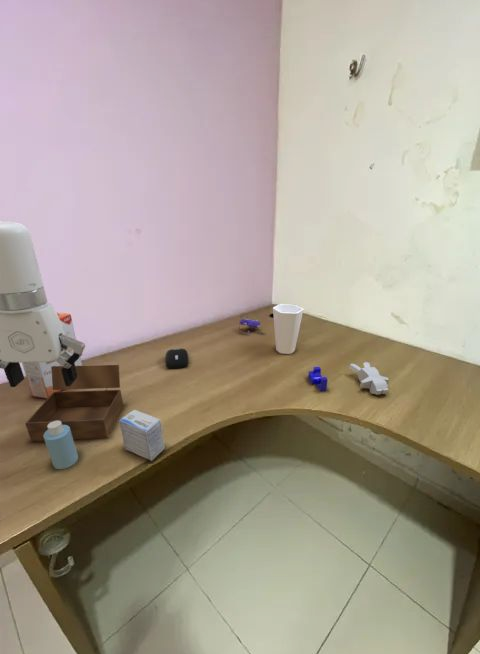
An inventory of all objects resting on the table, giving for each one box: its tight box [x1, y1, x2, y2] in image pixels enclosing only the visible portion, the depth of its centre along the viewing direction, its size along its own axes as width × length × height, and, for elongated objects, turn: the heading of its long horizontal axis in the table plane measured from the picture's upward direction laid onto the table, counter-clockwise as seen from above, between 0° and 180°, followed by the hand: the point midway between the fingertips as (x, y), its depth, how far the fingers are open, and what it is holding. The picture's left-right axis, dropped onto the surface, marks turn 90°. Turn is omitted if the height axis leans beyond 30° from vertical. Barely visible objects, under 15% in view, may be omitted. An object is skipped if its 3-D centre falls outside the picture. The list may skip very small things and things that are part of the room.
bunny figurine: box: [348, 361, 390, 396], centre depth 99 cm, size 10×5×15 cm
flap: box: [51, 364, 121, 391], centre depth 81 cm, size 16×6×1 cm
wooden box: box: [25, 389, 124, 442], centre depth 77 cm, size 17×13×5 cm
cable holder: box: [307, 366, 329, 392], centre depth 98 cm, size 8×4×4 cm, turn 10°
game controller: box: [238, 315, 264, 335], centre depth 136 cm, size 10×8×10 cm
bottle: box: [43, 421, 79, 470], centre depth 65 cm, size 5×5×10 cm
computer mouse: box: [165, 348, 189, 369], centre depth 109 cm, size 8×12×4 cm, turn 15°
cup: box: [272, 303, 304, 355], centre depth 117 cm, size 11×10×17 cm
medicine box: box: [119, 409, 166, 462], centre depth 69 cm, size 8×4×9 cm, turn 65°
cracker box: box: [21, 311, 83, 400], centre depth 88 cm, size 14×6×21 cm, turn 170°
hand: (44, 382), depth 61 cm, fingers open, 9 cm apart
